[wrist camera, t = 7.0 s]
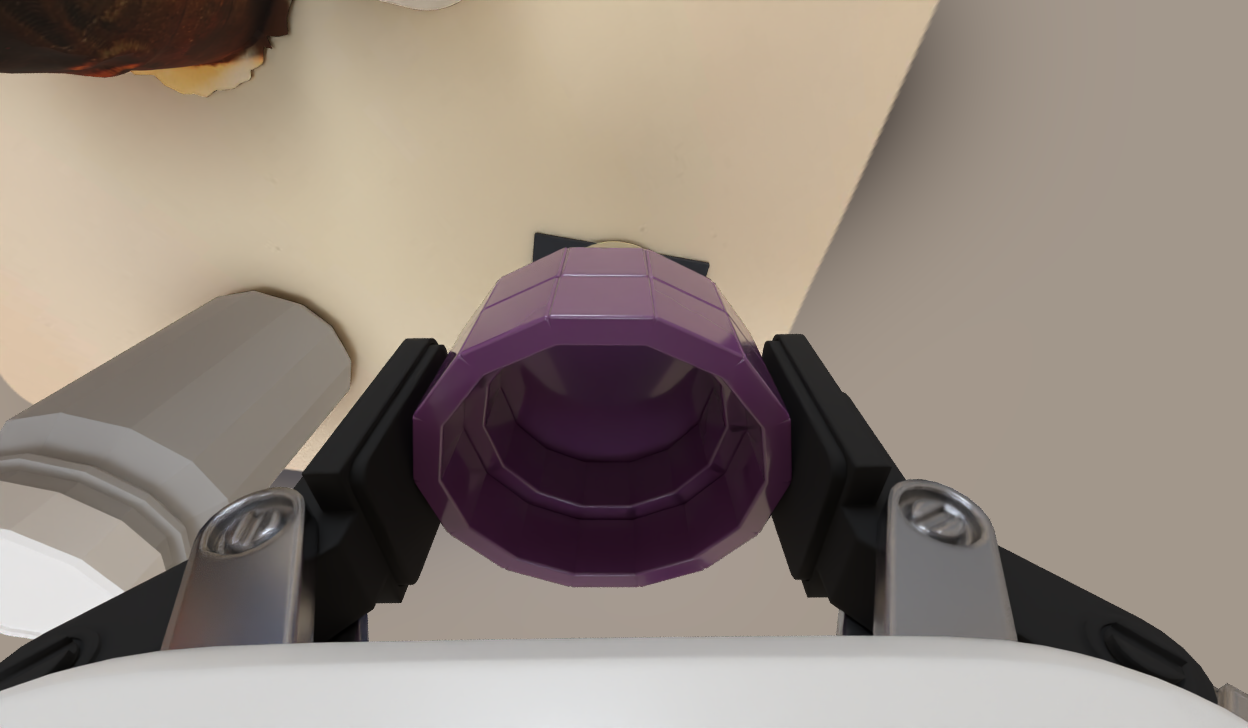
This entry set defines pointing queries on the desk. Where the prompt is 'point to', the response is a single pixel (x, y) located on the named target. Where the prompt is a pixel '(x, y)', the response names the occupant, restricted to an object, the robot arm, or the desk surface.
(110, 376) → the jar
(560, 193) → the desk surface
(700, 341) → the plum dish
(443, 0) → the cup
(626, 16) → the desk surface
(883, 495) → the robot arm
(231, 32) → the vessel
